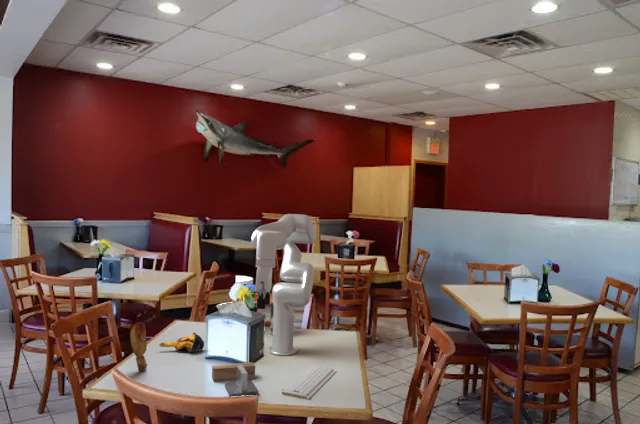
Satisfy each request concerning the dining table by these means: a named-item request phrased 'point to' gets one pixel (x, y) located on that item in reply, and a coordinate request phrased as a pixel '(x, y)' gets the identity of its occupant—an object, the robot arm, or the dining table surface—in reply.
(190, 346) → the fried shrimp in bowl
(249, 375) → the tan long block
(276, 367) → the dining table surface
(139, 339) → the crab claw
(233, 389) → the ridge stand
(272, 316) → the coffee box
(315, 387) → the baseboard molding
